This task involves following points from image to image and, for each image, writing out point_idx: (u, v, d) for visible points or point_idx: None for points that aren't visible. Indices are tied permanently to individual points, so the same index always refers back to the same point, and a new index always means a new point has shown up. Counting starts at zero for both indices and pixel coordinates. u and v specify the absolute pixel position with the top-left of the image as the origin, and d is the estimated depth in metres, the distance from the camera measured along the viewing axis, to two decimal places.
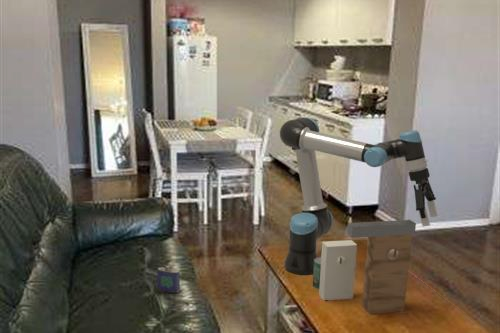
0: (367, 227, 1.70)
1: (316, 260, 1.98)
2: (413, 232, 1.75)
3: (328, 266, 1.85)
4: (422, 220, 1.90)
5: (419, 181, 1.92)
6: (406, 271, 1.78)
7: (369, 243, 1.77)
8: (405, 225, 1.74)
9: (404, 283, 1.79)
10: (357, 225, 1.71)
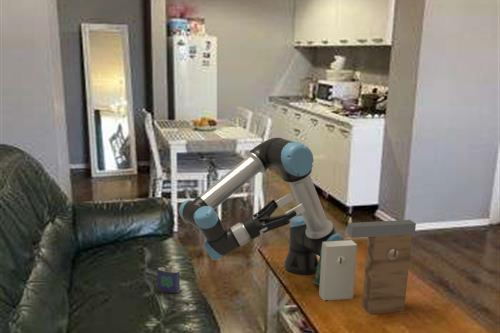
0: (367, 227, 1.70)
1: None
2: (413, 232, 1.75)
3: (328, 266, 1.85)
4: None
5: None
6: (406, 271, 1.78)
7: (369, 243, 1.77)
8: (405, 225, 1.74)
9: (404, 283, 1.79)
10: (357, 225, 1.71)
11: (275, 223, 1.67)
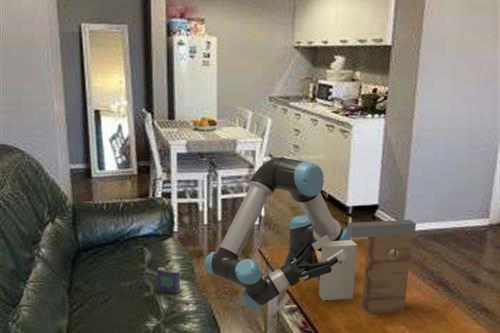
0: (367, 227, 1.70)
1: None
2: (413, 232, 1.75)
3: None
4: None
5: None
6: (406, 271, 1.78)
7: (369, 243, 1.77)
8: (405, 225, 1.74)
9: (404, 283, 1.79)
10: (357, 225, 1.71)
11: (317, 271, 1.62)
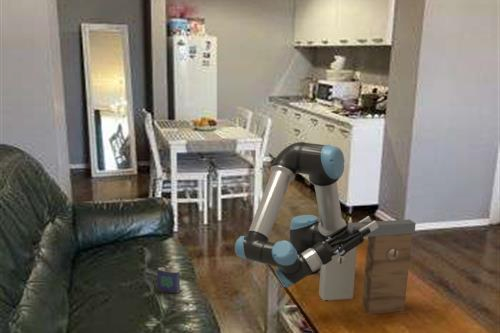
0: None
1: None
2: (413, 232, 1.75)
3: (328, 266, 1.85)
4: None
5: None
6: (406, 271, 1.78)
7: (369, 243, 1.77)
8: (405, 225, 1.74)
9: (404, 283, 1.79)
10: (357, 225, 1.71)
11: (352, 243, 1.66)
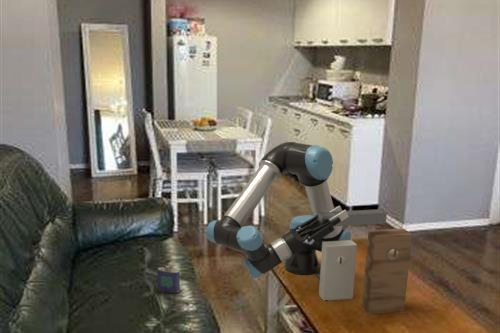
0: None
1: None
2: (384, 221, 1.73)
3: (328, 266, 1.85)
4: None
5: None
6: (406, 271, 1.78)
7: (369, 243, 1.77)
8: (376, 214, 1.71)
9: (404, 283, 1.79)
10: (327, 214, 1.68)
11: (322, 232, 1.64)
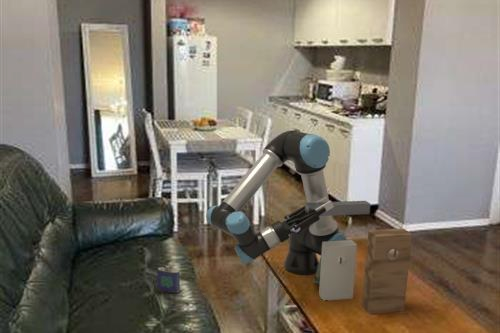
0: None
1: None
2: (368, 212, 1.83)
3: (328, 266, 1.85)
4: None
5: None
6: (406, 271, 1.78)
7: (369, 243, 1.77)
8: (360, 205, 1.82)
9: (404, 283, 1.79)
10: (313, 205, 1.79)
11: (307, 221, 1.74)
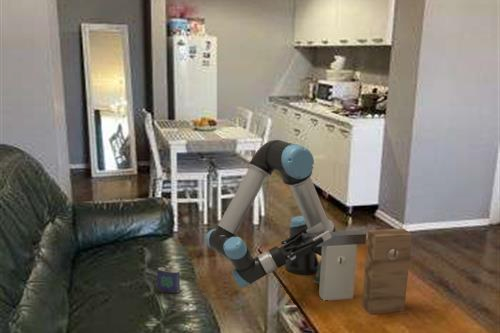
0: None
1: None
2: (364, 242, 1.86)
3: (328, 266, 1.85)
4: None
5: None
6: (406, 271, 1.78)
7: (369, 243, 1.77)
8: (356, 235, 1.85)
9: (404, 283, 1.79)
10: (310, 236, 1.82)
11: (304, 250, 1.75)
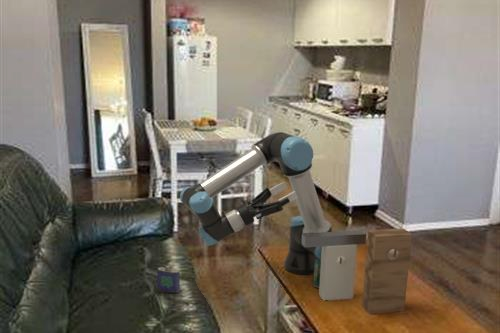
0: (319, 237, 1.82)
1: None
2: (364, 242, 1.86)
3: (328, 266, 1.85)
4: None
5: None
6: (406, 271, 1.78)
7: (369, 243, 1.77)
8: (356, 235, 1.85)
9: (404, 283, 1.79)
10: (310, 236, 1.82)
11: (268, 209, 1.72)
